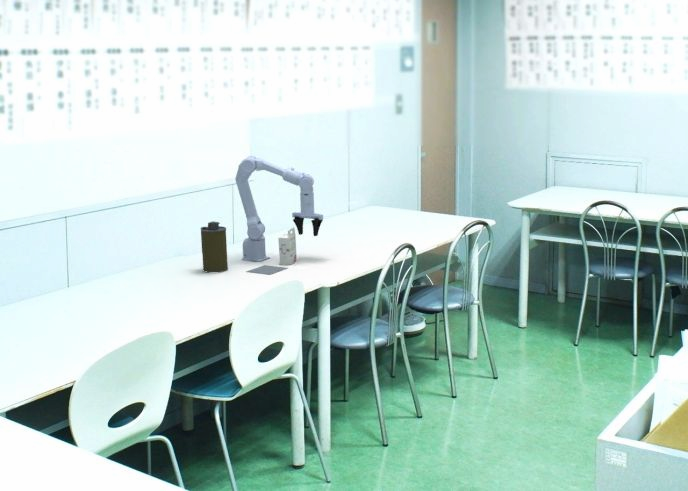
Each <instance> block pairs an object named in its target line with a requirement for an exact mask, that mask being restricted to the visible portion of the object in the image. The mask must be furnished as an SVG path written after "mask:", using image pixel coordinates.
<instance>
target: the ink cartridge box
mask: <svg viewBox="0 0 688 491" xmlns="http://www.w3.org/2000/svg"><path fill="white" fill-rule="evenodd" d="M277 239H278V240H277V241H278V251H279V252H278V253H279V254H278V255H279V265H280V266H282V265H283V266H290V265H292V264H294V263H295V262H297V260H298V259H297V238H296V229H295V227H294V226H293V227H291V228H289V229H288V230H287V233H284V234H283V235H281V236H279V237H278V238H277Z"/></svg>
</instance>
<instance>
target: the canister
mask: <svg viewBox="0 0 688 491" xmlns="http://www.w3.org/2000/svg"><path fill="white" fill-rule="evenodd" d="M226 231H227V227H225V226H220V222H219V221H209V222H208V223H207V226H202V227H200V240H201V241H200V242H201V254H202V271H203V270H204V271H207V272H206V273H209V272H218V273H222V272H227V271H228V270H229V266H228V251H227V250H228V249H227V232H226ZM204 271H203V272H204Z"/></svg>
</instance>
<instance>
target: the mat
mask: <svg viewBox="0 0 688 491" xmlns="http://www.w3.org/2000/svg"><path fill="white" fill-rule="evenodd" d="M287 269H289V267H285V266H274V265H269V264H268V265H267V264H264V265H262V266H258V267H255V268H252V269H250V270H246V271H245V272H246V273H251V274H259V275H266V276H268V275H269V276H271V275H273V274H277V273H279V272H282V271H285V270H287Z"/></svg>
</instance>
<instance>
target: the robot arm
mask: <svg viewBox="0 0 688 491" xmlns="http://www.w3.org/2000/svg"><path fill="white" fill-rule="evenodd" d="M255 171H256V172H260V171H266V172H269V173H272V174H275V175H277V176H279V177H282V180H283V181H284V182H286V183H289V184H292V185H294V186H297V187H299V188H300V189H299V190H300V192H299V195H300V212H296V211H295V212H292V213H291V216H292V217H291V218H293V219H292V221H293V222H294V224H295V226H296V230H297V232H298V236H299V235H300V236H301V235H303V234H304V222H305V221H304V220H305V219H312V220H311V226H312V228H313V229H312V231H313V236H314V237H318V236H319V230H320V227H321V225H322V223H323V219H324V214H321V213H315V196H314V195H315V194H314V184H315V180H314V177H313V176H312V175H310V174H308V173H307V174H305V172H300V171H298V170H295V168H294V167H291V168H290V167H287V168H283V167H280V166H278V165H276V164H274V163H271V162H269V161H267V160H265V159H263V158H260V157H256V156H253V155H250V156H249V155H248V156H247V157H246V158H244V159H243V160H242V161H241V162H240V163H239V165H238V168H237V171H236V175H235V184H236V186H237V187H236V188H237V190H238V194H239V196H240V199H241V204H242V207H243V210H244V214H245V218H246V226H247V232H246V234H247V236H248V238H245V239H244V240H243V242H242V258H241V260H244V261H250V262H251V261H253V262H262V261H265V260H268V259H270V258H271V257H270V256H267V253H266V252H267V251H266V237H265V236H264V234H265V233H266V232H265V231H266V226H265V225H264V223H263V222H262V221H261V218H260V216H259V214H258V212H257V206H256V204H255V200H254V198H253V194H252V190H251V187H250V183H249V181H248V180H249V179H250V177H251V175H252V174H253V173H254V172H255Z"/></svg>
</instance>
